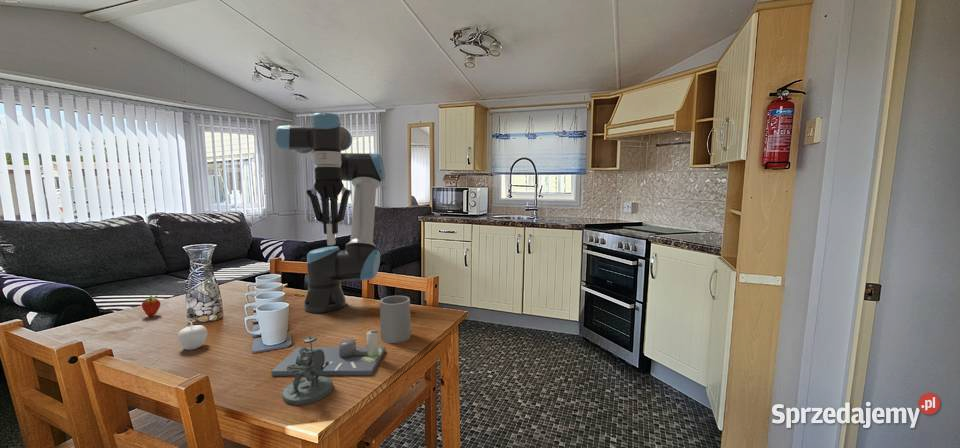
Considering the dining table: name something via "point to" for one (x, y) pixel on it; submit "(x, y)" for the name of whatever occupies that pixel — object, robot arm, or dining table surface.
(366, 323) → the dining table surface
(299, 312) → the dining table surface
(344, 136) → the robot arm
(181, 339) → the plain white apple
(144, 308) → the fruit
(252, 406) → the dining table surface
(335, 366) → the board
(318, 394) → the figurine
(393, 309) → the cup
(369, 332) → the grey and white piece
